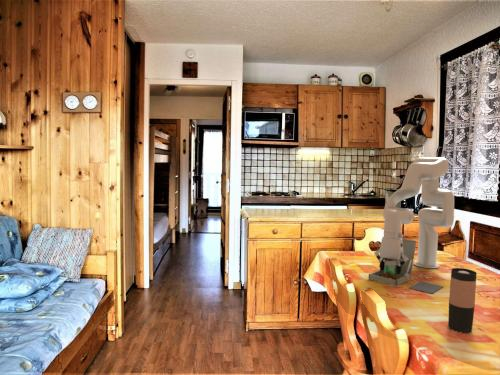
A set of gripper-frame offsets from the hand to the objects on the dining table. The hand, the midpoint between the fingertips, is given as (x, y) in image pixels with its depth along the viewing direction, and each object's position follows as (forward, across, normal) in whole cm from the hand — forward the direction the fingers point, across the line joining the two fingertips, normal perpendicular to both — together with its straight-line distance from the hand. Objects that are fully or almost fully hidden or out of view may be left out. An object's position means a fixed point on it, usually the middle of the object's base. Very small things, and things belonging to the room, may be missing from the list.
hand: (390, 271), depth 188 cm
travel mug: (+4, -41, +37) cm, 55 cm away
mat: (+4, -17, 0) cm, 17 cm away
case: (+4, 0, -2) cm, 4 cm away
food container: (+4, 0, 0) cm, 4 cm away
